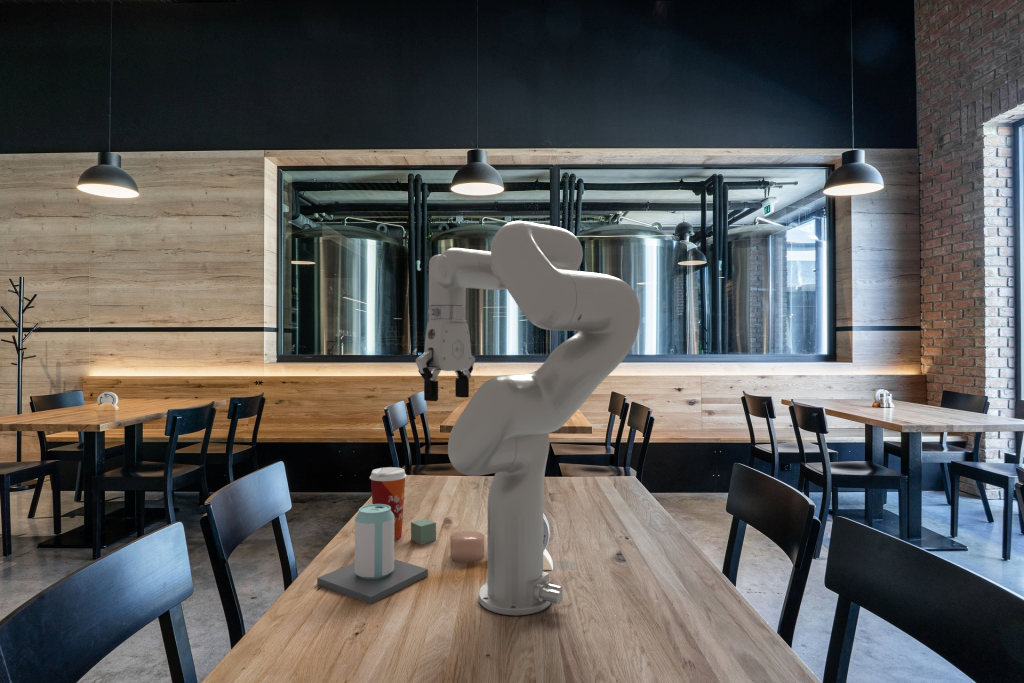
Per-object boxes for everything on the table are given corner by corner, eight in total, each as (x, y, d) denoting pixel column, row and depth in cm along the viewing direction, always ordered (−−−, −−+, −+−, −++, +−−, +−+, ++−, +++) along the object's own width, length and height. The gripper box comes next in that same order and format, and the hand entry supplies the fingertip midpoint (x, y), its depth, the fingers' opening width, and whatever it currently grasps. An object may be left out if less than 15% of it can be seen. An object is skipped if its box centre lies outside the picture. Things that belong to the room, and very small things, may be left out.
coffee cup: (397, 544, 120) (397, 475, 120) (362, 541, 122) (362, 473, 122) (412, 532, 128) (412, 467, 129) (379, 529, 130) (379, 465, 130)
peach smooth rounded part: (491, 554, 115) (491, 535, 115) (470, 565, 109) (470, 545, 109) (464, 547, 119) (464, 529, 119) (443, 558, 113) (443, 538, 113)
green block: (436, 540, 123) (436, 522, 123) (420, 544, 120) (420, 526, 120) (426, 536, 126) (426, 518, 126) (411, 540, 123) (411, 522, 123)
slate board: (427, 575, 104) (427, 569, 104) (370, 604, 92) (370, 597, 92) (375, 559, 112) (375, 553, 112) (317, 584, 100) (317, 577, 100)
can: (352, 569, 104) (352, 505, 104) (390, 563, 106) (390, 501, 107) (357, 583, 97) (357, 515, 97) (397, 577, 100) (397, 511, 100)
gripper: (432, 312, 104) (432, 403, 104) (486, 317, 119) (486, 396, 118) (403, 314, 108) (403, 401, 108) (459, 318, 123) (459, 395, 123)
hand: (447, 398), depth 113 cm, fingers open, 9 cm apart
